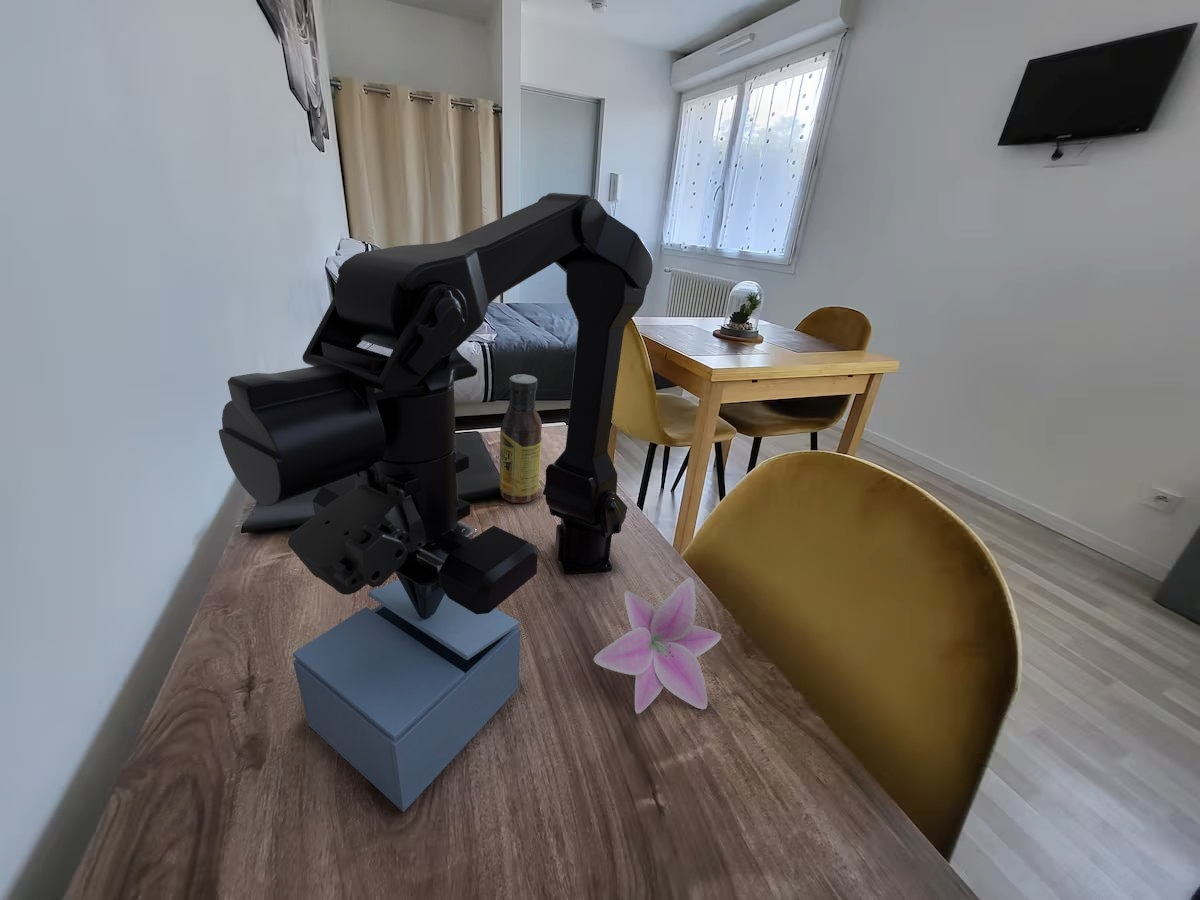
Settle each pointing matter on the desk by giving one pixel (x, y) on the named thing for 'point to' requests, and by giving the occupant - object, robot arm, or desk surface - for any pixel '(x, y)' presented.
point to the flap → (448, 621)
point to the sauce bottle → (520, 442)
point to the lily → (662, 648)
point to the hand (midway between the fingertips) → (427, 614)
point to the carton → (400, 697)
